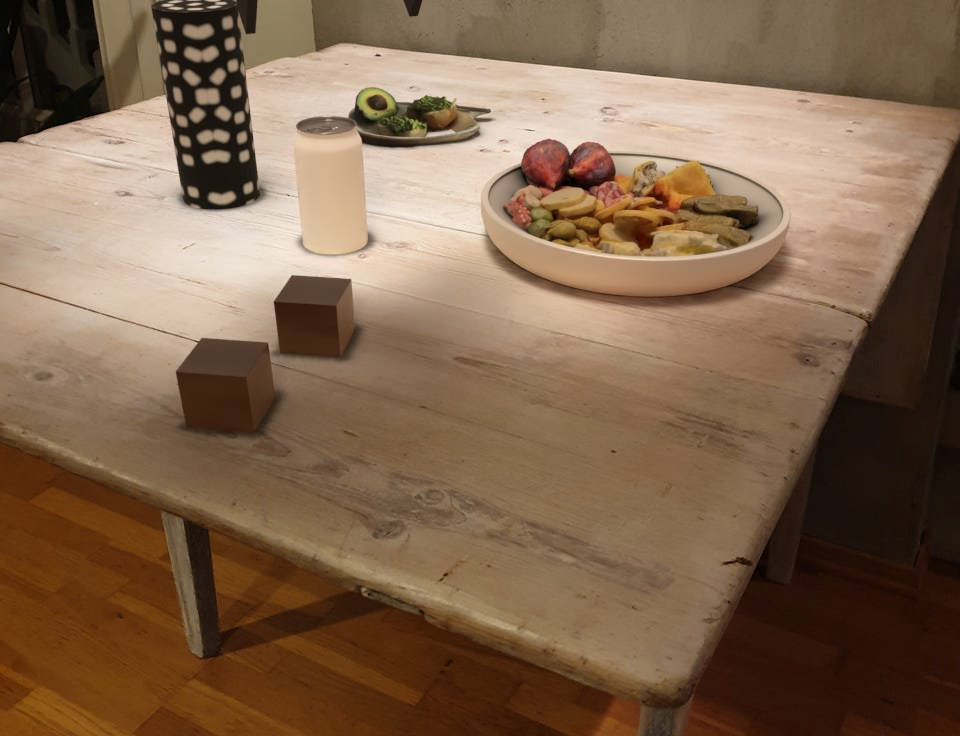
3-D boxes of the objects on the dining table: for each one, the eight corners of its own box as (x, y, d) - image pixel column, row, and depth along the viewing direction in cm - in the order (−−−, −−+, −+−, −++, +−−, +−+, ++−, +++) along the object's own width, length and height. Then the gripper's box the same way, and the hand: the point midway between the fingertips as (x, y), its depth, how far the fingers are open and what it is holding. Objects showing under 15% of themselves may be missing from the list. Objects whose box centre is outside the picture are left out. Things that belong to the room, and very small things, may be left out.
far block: (297, 329, 82) (291, 274, 79) (355, 333, 81) (351, 278, 79) (280, 357, 78) (273, 301, 75) (340, 362, 77) (336, 305, 75)
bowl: (838, 248, 98) (856, 172, 93) (657, 345, 80) (669, 257, 76) (608, 176, 115) (614, 108, 111) (419, 242, 98) (417, 165, 93)
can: (381, 245, 97) (375, 124, 90) (330, 264, 93) (319, 138, 86) (340, 228, 101) (332, 110, 94) (290, 245, 97) (277, 123, 90)
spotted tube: (225, 218, 103) (196, 15, 91) (167, 203, 106) (132, 6, 95) (275, 195, 109) (254, 2, 97) (219, 182, 112) (193, -6, 101)
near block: (211, 396, 73) (201, 337, 70) (275, 401, 72) (268, 342, 70) (186, 432, 69) (175, 371, 66) (254, 438, 68) (246, 376, 65)
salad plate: (477, 107, 139) (477, 74, 137) (508, 144, 125) (509, 107, 122) (343, 114, 136) (340, 80, 133) (359, 153, 121) (357, 116, 119)
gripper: (176, -179, 53) (185, 68, 73) (574, -192, 62) (485, 33, 81) (141, -286, 55) (159, -15, 74) (534, -285, 63) (457, -41, 83)
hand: (329, 11), depth 78 cm, fingers open, 13 cm apart
